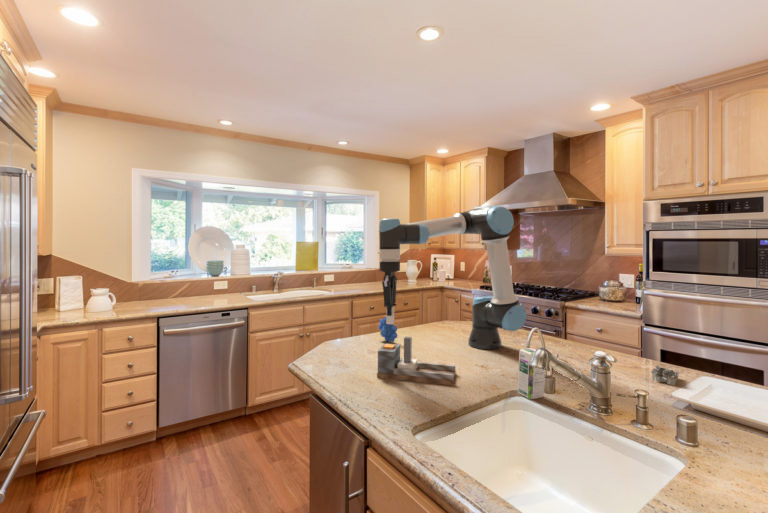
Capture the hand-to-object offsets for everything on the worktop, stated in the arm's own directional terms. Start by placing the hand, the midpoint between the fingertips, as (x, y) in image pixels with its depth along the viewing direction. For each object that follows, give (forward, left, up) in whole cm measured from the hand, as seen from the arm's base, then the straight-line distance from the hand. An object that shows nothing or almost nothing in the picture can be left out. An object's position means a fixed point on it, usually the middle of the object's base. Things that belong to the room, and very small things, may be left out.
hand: (390, 323), depth 140 cm
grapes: (+12, -40, -19) cm, 46 cm away
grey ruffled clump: (-97, -21, -19) cm, 101 cm away
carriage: (-7, 0, -17) cm, 18 cm away
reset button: (0, 0, -11) cm, 11 cm away
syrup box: (-49, +7, -19) cm, 53 cm away
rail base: (-10, 0, -18) cm, 21 cm away
